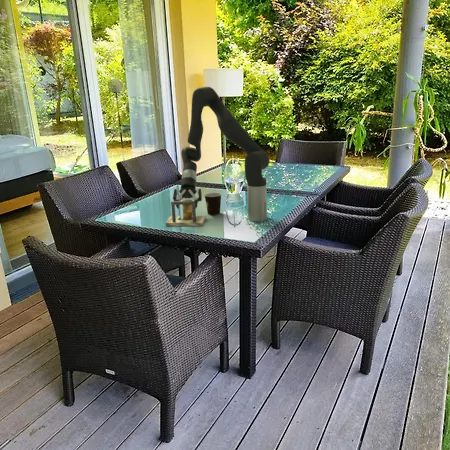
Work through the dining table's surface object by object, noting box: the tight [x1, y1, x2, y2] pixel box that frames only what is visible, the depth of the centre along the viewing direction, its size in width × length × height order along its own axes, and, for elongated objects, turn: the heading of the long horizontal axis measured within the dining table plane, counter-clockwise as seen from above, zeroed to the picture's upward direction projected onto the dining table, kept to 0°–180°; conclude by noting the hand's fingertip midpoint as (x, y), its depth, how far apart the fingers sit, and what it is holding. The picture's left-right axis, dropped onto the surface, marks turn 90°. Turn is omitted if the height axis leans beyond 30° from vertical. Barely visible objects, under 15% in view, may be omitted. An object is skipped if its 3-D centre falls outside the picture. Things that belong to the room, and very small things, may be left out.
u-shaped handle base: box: [165, 200, 207, 227], centre depth 216 cm, size 18×11×12 cm, turn 84°
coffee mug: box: [204, 192, 222, 216], centre depth 227 cm, size 12×9×10 cm
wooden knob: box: [181, 199, 193, 220], centre depth 219 cm, size 6×6×10 cm
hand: (186, 208), depth 219 cm, fingers open, 8 cm apart
